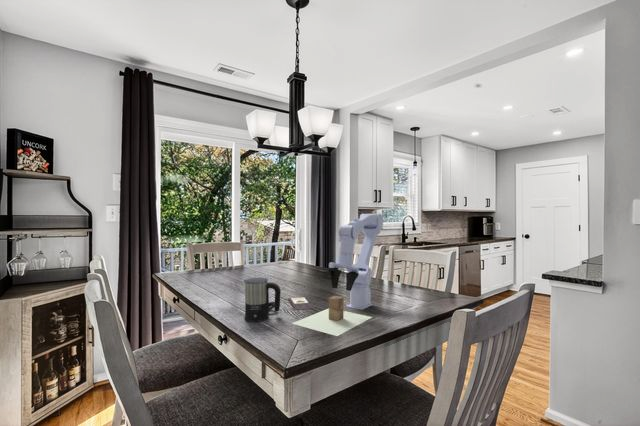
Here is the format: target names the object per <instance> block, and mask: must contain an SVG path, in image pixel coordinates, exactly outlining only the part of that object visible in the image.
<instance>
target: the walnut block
mask: <svg viewBox="0 0 640 426" xmlns="http://www.w3.org/2000/svg"><path fill="white" fill-rule="evenodd" d="M328 308H329V319H330V320H334V321H339V320H341V319H343V311H344V296H337V295H333V296H330V297H328Z"/></svg>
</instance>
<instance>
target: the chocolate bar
mask: <svg viewBox="0 0 640 426" xmlns="http://www.w3.org/2000/svg"><path fill="white" fill-rule="evenodd" d="M287 300H288V302H289V304H290V306H291V307H292V309H293V310H294V311H301V310H303V311H304V310H312V309H313V310H316V309H317V307H316V306H315V305H314V304H313V303H312V301H311V300H310V299H309V297H307V296H306V297H305V296H304V297H289V298H288V299H287Z"/></svg>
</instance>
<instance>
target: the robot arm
mask: <svg viewBox="0 0 640 426" xmlns="http://www.w3.org/2000/svg"><path fill="white" fill-rule="evenodd" d="M383 217H384V216H383V214H382V213H361V214H360V215H359V218H353V219H352V221H350V222H348V223H347V224H342V225H341V226H340V227H339V230H338V237H339V239H338V242H339V247H338V256H337V262H329V263H328V269H327V270H328V273H329V276H330V280H331V289H338V286H339V281H340V277H341V274H342V271H345V281H346V282H345V284H346V285H345V290H346V291H349V304H346V305H345V306H346V307H347V308H350V309H351V308H353V309H356V310H361V311H362V310H365V309H367V308H369V307H371V306H373V303H372V302H371V300H372V299H371V298H372V297H371V296H372V295H371V294H372V293H371V288H370V284H371V283H372V276H373V275H372V274H373V272H372V269H371V267H370V266H369V262H370V259H371V255H372V254H373V250H374V246H375V243H376V240H377V236H378V235H379V234H381V231H382V229H383V226H384V218H383ZM360 233H362V234H364V235H365V236H364V239H363V243H362V246H361V247H360V251H359V255H358V256H357V257H358V258H357V260H356V262H355V263H353V261H354V260H353V259H354V252H355V251H354V250H355V243H356V241H355V240H357V239H358V237H359V234H360Z"/></svg>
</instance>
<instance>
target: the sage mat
mask: <svg viewBox="0 0 640 426" xmlns="http://www.w3.org/2000/svg"><path fill="white" fill-rule="evenodd" d="M372 318H373V317H372V316H369V315H364V314H359V313H355V312H350V311H345V310H343V319H341V320H339V321H334V320H330V319H329V307H327V308H326V309H325V310H321V311H319V312H316V313H314V314H311V315H309V316H307V317H303V318H301V319H299V320H296V321H294V322H292V323H291V324H292V325H295V326H299V327H302V328H305V329H310V330H313V331H317V332H321V333H325V334H327V335H331V336H336V337H338V336H340V335H342V334H344V333H347V332H348V331H350V330H352V329H354V328H355V327H357V326H359V325H361V324H363V323H365V322H366V321H368V320H370V319H372Z"/></svg>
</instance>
